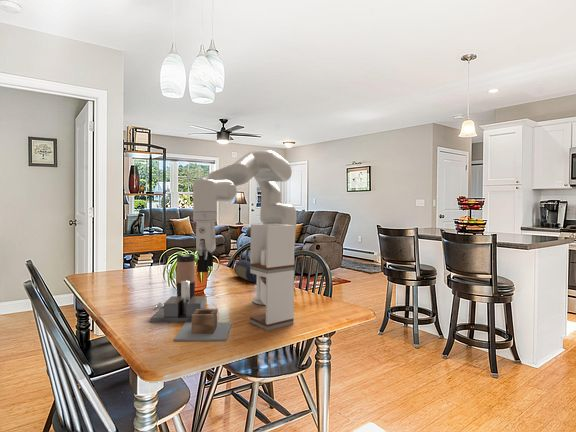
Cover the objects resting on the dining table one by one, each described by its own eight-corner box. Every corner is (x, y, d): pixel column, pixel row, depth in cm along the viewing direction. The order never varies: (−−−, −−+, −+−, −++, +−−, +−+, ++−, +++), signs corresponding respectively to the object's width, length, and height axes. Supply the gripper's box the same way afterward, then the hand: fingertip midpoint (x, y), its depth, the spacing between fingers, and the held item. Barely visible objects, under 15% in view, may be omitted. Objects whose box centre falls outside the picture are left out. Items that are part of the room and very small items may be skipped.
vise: (217, 312, 146) (217, 277, 145) (212, 322, 134) (212, 284, 133) (160, 312, 145) (160, 277, 144) (150, 322, 133) (150, 284, 132)
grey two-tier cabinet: (275, 316, 141) (276, 223, 140) (293, 324, 133) (294, 225, 132) (249, 322, 134) (250, 224, 133) (267, 330, 126) (268, 226, 124)
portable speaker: (232, 276, 217) (232, 259, 216) (247, 275, 222) (248, 258, 221) (249, 285, 195) (249, 265, 195) (266, 283, 200) (266, 264, 200)
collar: (216, 326, 127) (216, 309, 127) (213, 333, 120) (213, 315, 120) (196, 326, 127) (196, 309, 127) (191, 333, 120) (191, 315, 120)
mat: (231, 324, 132) (231, 322, 132) (225, 340, 116) (225, 338, 116) (185, 324, 131) (185, 322, 131) (173, 341, 115) (173, 339, 115)
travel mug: (190, 304, 156) (190, 256, 156) (173, 303, 158) (173, 256, 157) (198, 299, 164) (198, 254, 163) (181, 298, 166) (181, 253, 165)
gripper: (212, 218, 114) (212, 274, 115) (220, 215, 131) (220, 264, 132) (187, 218, 114) (187, 274, 114) (198, 215, 131) (199, 264, 132)
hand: (205, 269), depth 123 cm, fingers open, 9 cm apart
